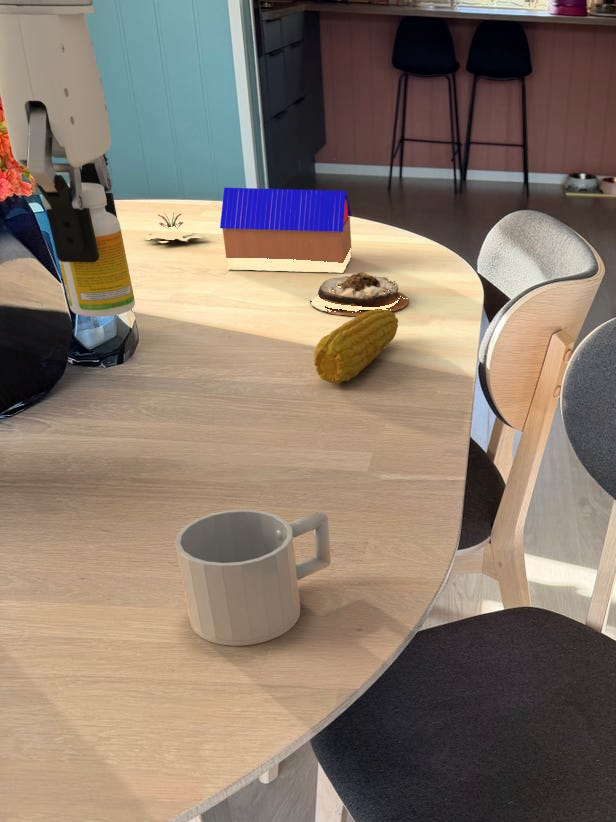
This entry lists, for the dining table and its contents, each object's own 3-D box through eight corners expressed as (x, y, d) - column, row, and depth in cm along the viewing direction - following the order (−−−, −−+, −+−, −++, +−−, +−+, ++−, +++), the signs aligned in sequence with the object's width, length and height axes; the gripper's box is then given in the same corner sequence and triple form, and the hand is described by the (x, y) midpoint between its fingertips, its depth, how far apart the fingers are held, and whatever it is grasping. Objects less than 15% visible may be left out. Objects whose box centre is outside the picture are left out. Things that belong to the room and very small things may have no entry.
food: (353, 393, 111) (350, 343, 108) (309, 388, 112) (304, 338, 109) (406, 339, 128) (405, 295, 124) (367, 335, 129) (365, 291, 125)
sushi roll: (299, 313, 136) (297, 284, 134) (322, 286, 148) (320, 259, 146) (399, 318, 135) (398, 289, 133) (414, 290, 148) (413, 263, 145)
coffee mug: (229, 660, 68) (216, 578, 64) (169, 613, 72) (153, 534, 68) (363, 596, 75) (358, 519, 71) (300, 557, 80) (293, 483, 76)
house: (241, 253, 164) (232, 180, 158) (354, 256, 165) (350, 184, 158) (225, 270, 155) (215, 194, 148) (345, 274, 155) (341, 198, 148)
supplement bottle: (149, 307, 82) (127, 185, 76) (98, 322, 78) (71, 195, 72) (108, 296, 84) (83, 178, 78) (57, 310, 80) (27, 187, 74)
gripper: (27, -14, 74) (79, 228, 85) (-71, -11, 60) (6, 278, 71) (121, -11, 75) (162, 230, 85) (46, -8, 61) (105, 280, 71)
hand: (90, 249), depth 78 cm, fingers closed on supplement bottle, 5 cm apart
